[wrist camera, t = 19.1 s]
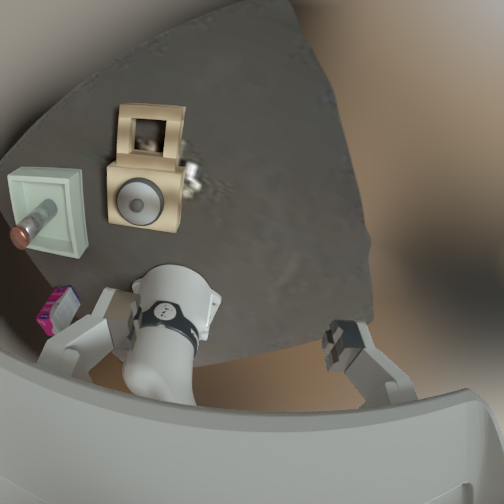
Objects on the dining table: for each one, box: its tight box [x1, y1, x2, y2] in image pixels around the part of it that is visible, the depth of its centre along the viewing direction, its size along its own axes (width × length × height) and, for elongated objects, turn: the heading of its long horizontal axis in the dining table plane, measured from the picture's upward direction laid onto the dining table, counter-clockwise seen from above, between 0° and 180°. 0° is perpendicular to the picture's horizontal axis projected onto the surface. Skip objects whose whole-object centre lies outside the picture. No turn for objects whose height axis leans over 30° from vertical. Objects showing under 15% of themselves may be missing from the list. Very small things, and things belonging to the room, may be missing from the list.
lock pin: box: [10, 198, 58, 250], centre depth 38 cm, size 4×4×11 cm
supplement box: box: [36, 286, 81, 336], centre depth 52 cm, size 6×6×12 cm
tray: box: [7, 167, 89, 259], centre depth 42 cm, size 16×16×4 cm
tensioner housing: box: [107, 103, 186, 233], centre depth 38 cm, size 20×12×6 cm, turn 169°
